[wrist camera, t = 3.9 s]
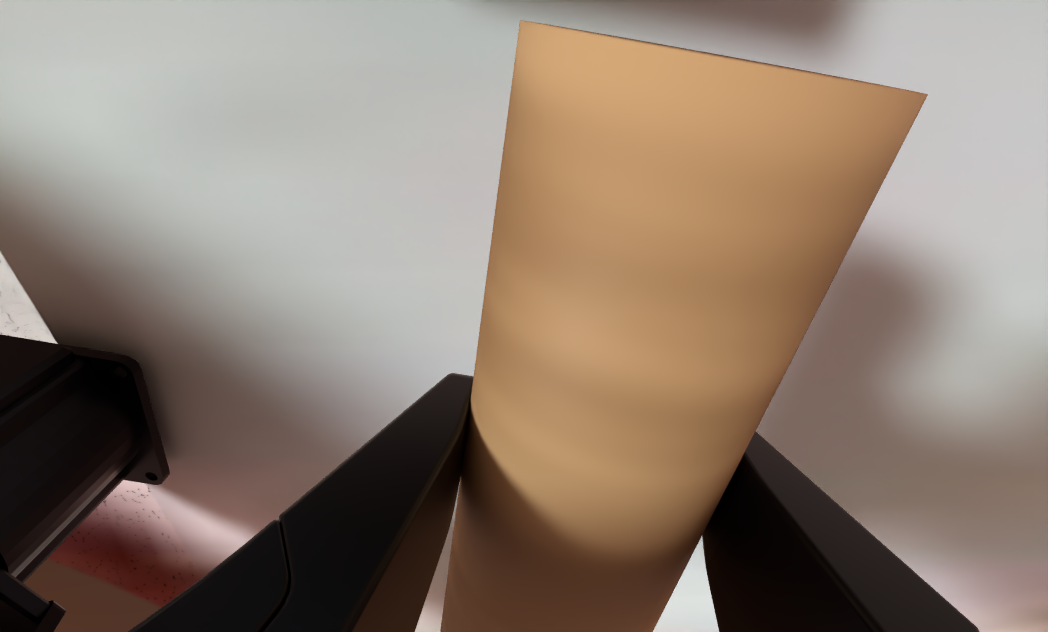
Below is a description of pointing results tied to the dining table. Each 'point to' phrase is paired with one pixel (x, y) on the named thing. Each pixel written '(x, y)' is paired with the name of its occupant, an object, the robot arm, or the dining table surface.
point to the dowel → (643, 311)
